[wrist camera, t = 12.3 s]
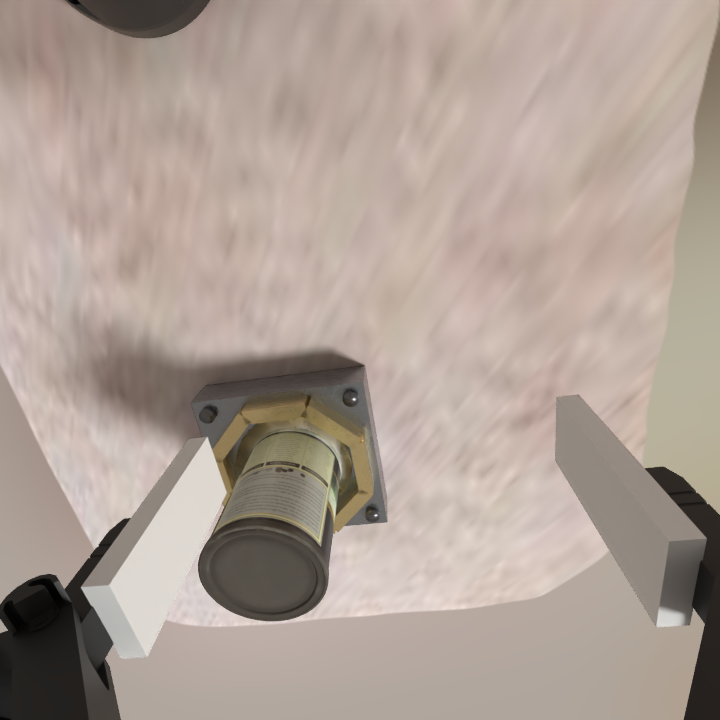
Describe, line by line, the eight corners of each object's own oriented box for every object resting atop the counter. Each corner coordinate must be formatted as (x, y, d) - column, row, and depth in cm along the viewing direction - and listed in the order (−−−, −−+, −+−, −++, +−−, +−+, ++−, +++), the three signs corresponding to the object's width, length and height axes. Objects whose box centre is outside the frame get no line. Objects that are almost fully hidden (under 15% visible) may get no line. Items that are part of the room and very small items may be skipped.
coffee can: (358, 486, 48) (350, 602, 35) (278, 515, 50) (241, 635, 37) (314, 411, 44) (286, 509, 31) (229, 446, 46) (171, 552, 33)
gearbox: (205, 385, 48) (183, 411, 43) (364, 365, 47) (362, 390, 41) (246, 511, 55) (232, 547, 50) (387, 498, 53) (387, 534, 48)
